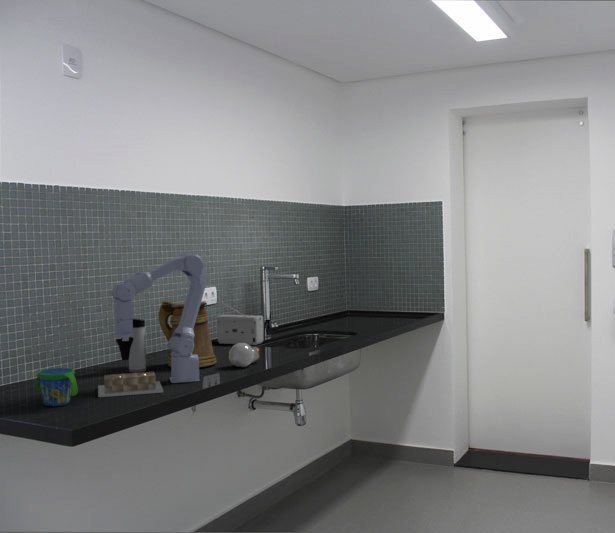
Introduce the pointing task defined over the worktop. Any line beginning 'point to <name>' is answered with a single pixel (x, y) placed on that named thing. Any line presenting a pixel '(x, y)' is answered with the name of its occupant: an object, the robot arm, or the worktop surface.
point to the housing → (130, 381)
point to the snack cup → (56, 386)
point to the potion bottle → (243, 354)
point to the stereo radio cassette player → (240, 329)
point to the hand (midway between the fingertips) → (125, 359)
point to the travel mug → (138, 348)
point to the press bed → (129, 391)
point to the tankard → (200, 330)
